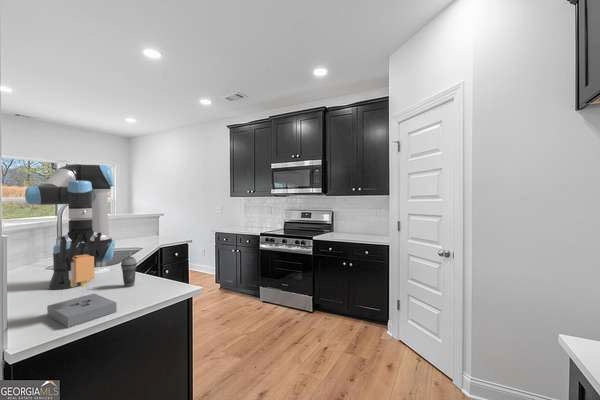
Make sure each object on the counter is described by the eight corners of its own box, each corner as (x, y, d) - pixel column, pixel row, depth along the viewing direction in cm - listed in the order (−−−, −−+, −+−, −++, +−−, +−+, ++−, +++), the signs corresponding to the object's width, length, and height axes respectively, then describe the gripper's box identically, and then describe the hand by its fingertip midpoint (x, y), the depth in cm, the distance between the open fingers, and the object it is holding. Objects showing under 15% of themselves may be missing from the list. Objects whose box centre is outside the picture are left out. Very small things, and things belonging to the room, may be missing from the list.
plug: (69, 286, 110) (68, 256, 110) (86, 282, 115) (86, 253, 115) (76, 289, 106) (75, 257, 106) (94, 284, 112) (94, 255, 111)
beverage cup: (125, 283, 149) (125, 247, 149) (139, 283, 150) (139, 246, 149) (118, 288, 142) (117, 249, 141) (133, 287, 142) (132, 249, 142)
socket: (47, 315, 110) (47, 305, 110) (94, 302, 123) (93, 293, 123) (68, 328, 99) (67, 317, 99) (116, 311, 113) (116, 302, 113)
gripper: (53, 221, 101) (55, 284, 101) (111, 217, 117) (112, 272, 117) (46, 220, 104) (47, 281, 105) (103, 217, 121) (103, 269, 121)
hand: (81, 276), depth 111 cm, fingers closed on plug, 6 cm apart
